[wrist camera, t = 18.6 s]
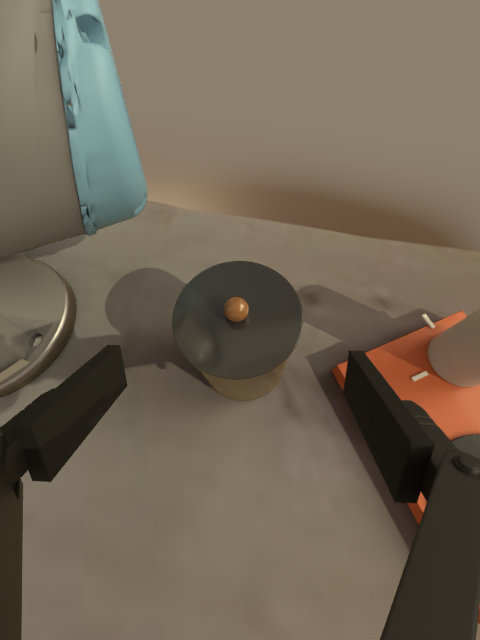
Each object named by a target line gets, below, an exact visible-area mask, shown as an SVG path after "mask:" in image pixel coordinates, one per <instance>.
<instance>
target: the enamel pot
mask: <svg viewBox="0 0 480 640" xmlns="http://www.w3.org/2000/svg"><path fill="white" fill-rule="evenodd" d="M172 324H173V333H174V337H175V340H176V342H177V345H178V347H179V349H180V350H181V352H182V354H183V355H184V356H185V357H186V358H187V360H188V361H189V362H190V363H191V364H192V365H193V366H194V367H196V368H197V369H198V370H200V372H201V373H202V374H203V376H204V377H205V378H206V380H207V381H208V382H209V384H210V385H211V386H212V387H213V388H214V389H215V390H216V391H217V392H218V393H220V394H221V395H223V396H225V397H227V398H230V399H234V400H240V401H247V400H253V399H257V398H260V397H262V396H264V395H266V394H267V393H268V392H270V391H271V390H272V389H273V388H274V387H275V386H276V385H277V384H278V382H279V381H280V379H281V377H282V375H283V372H284V369H285V367H286V364H287V361H288V359H289V356H290V355H291V354H292V352H293V350H294V349H295V347H296V345H297V343H298V340H299V338H300V335H301V331H302V326H303V311H302V306H301V303H300V300H299V297H298V295H297V293H296V291H295V290H294V288H293V287H292V285H291V284H290V283H289V282H288V281H287V280H286V279H285V278H284V277H283V276H282V275H281V274H279V273H278V272H276V271H275V270H273V269H271V268H269V267H267V266H264V265H261V264H258V263H254V262H247V261H232V262H226V263H221V264H218V265H215V266H212V267H210V268H208V269H206V270H204V271H202V272H201V273H199V274H198V275H197V276H195V277H194V278H193V279H192V280H191V281H190V282H189V283H188V284H187V285H186V286H185V287H184V289H183V290H182V292H181V293H180V295H179V297H178V299H177V302H176V305H175V308H174V312H173V322H172Z"/></svg>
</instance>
